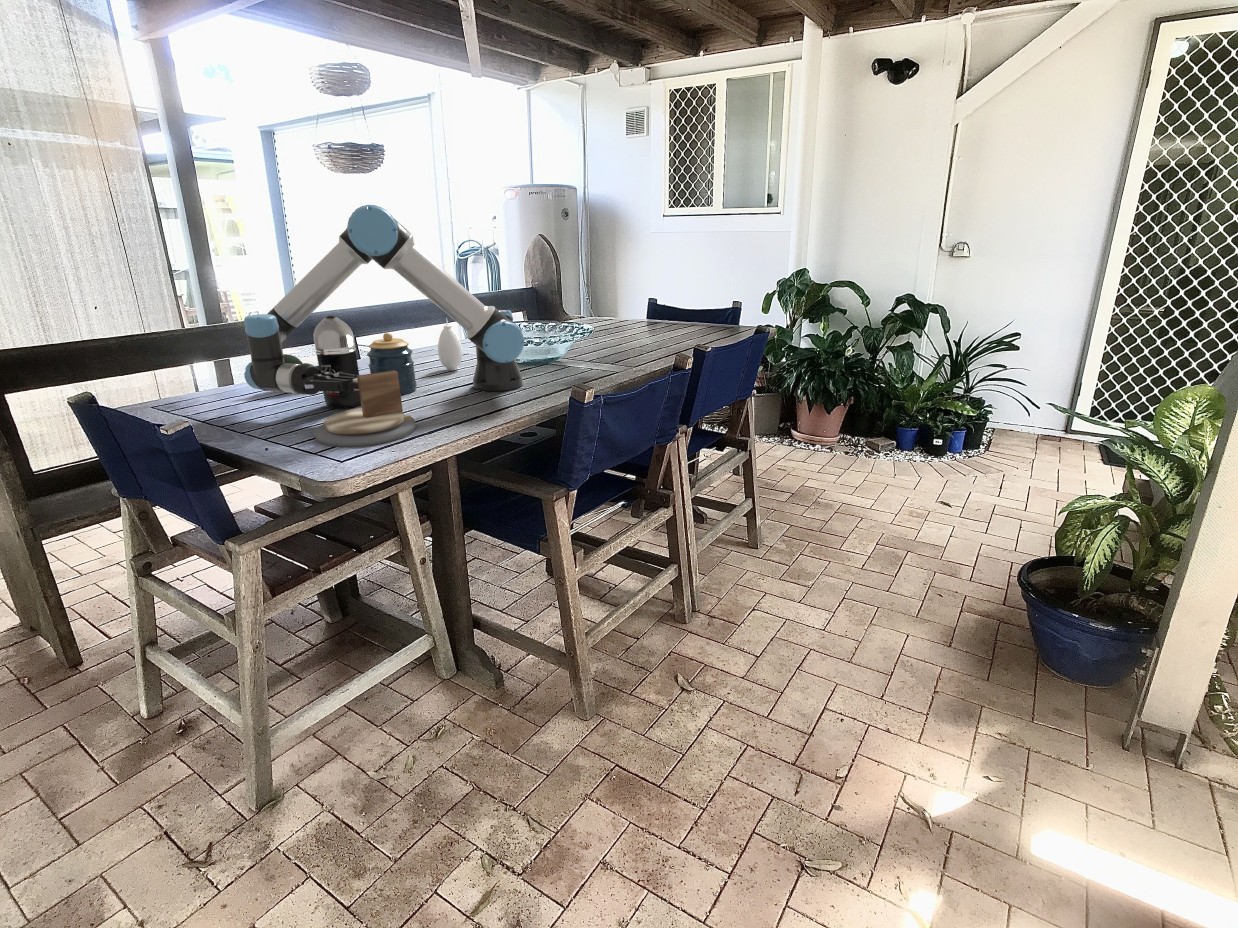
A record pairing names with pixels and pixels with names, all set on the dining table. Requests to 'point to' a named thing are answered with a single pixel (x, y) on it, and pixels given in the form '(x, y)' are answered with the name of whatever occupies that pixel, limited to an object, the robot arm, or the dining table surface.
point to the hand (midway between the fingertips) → (377, 385)
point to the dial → (371, 406)
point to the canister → (393, 360)
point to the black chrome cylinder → (336, 358)
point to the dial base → (365, 435)
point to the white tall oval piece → (449, 348)
